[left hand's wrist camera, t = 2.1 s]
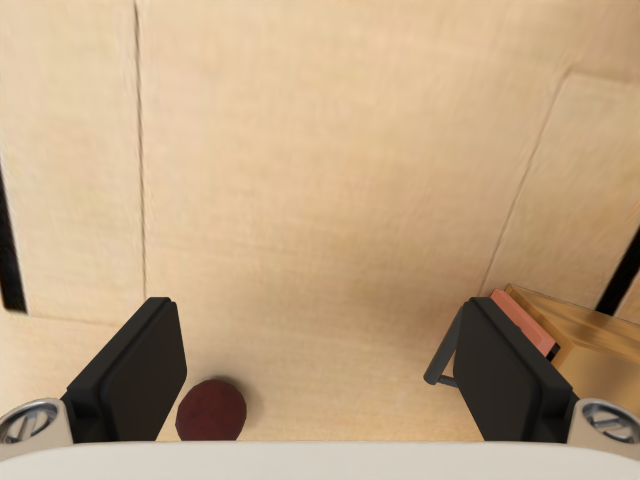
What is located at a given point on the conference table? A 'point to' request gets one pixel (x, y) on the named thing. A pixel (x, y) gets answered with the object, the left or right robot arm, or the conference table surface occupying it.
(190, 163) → the conference table surface
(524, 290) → the tan box
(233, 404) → the potato
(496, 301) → the drawer
